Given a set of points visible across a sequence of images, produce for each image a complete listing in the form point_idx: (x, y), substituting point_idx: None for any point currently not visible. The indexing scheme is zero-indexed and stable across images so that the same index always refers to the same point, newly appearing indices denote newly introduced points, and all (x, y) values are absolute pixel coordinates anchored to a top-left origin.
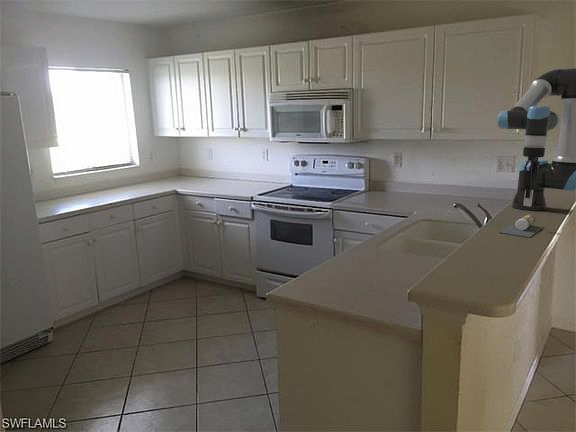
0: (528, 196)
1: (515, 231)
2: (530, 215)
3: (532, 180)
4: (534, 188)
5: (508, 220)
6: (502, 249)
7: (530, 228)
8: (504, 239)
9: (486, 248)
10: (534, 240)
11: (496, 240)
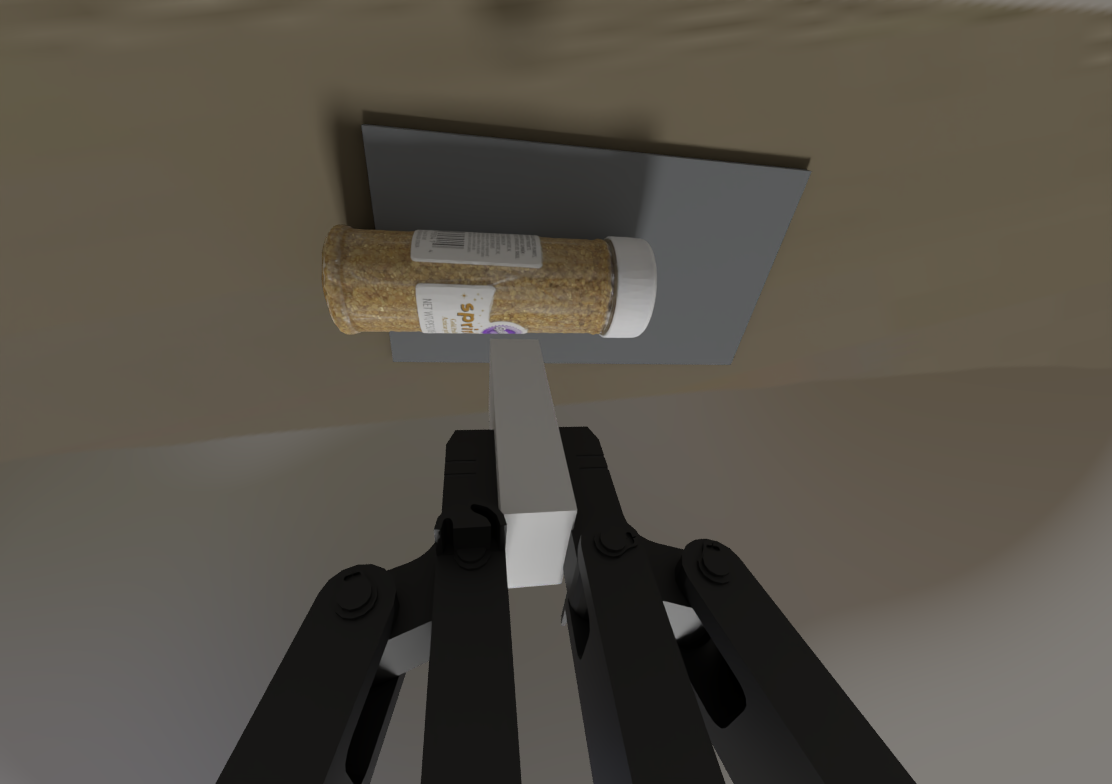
0: (599, 453)
1: (672, 293)
2: (375, 292)
3: (718, 769)
4: (505, 532)
5: (313, 410)
6: (1097, 256)
7: (507, 221)
8: (875, 300)
9: (1067, 323)
10: (870, 119)
11: (905, 327)
